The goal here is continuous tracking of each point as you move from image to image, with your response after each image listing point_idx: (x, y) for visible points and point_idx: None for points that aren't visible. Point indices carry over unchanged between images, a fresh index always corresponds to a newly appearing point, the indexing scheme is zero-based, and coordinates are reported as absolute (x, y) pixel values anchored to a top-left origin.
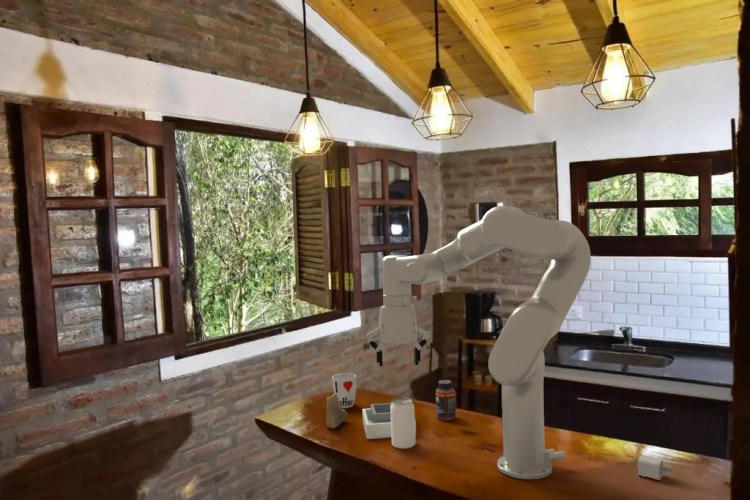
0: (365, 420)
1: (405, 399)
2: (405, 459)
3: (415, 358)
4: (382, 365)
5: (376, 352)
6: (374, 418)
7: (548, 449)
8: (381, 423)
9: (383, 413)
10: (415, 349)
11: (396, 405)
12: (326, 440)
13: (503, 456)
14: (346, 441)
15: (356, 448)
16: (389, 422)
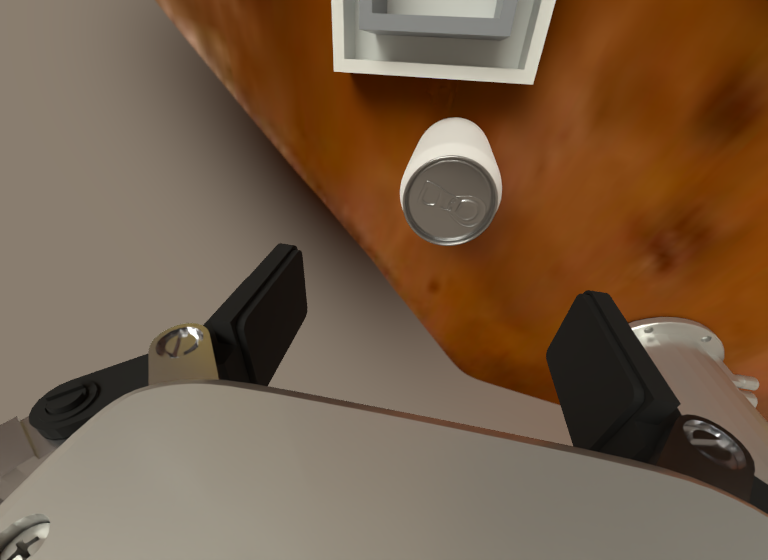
0: (333, 5)
1: (476, 171)
2: (427, 246)
3: (560, 386)
4: (305, 315)
5: (209, 326)
6: (366, 30)
7: (741, 384)
8: (392, 71)
9: (404, 26)
10: (612, 437)
11: (416, 227)
12: (222, 42)
13: (641, 328)
14: (285, 72)
15: (317, 142)
16: (425, 67)
